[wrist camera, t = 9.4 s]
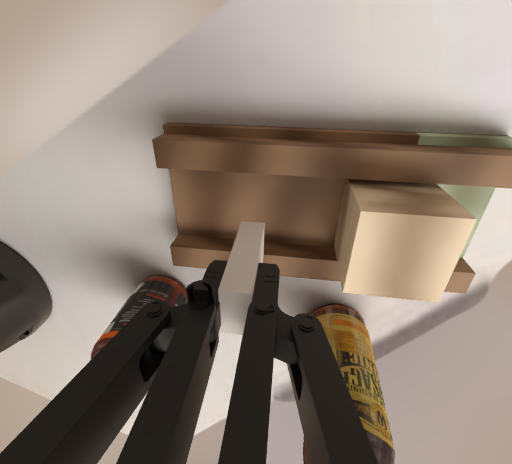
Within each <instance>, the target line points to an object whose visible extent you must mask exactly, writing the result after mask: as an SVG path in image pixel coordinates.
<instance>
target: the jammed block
mask: <svg viewBox="0 0 512 464" xmlns="http://www.w3.org/2000/svg"><path fill="white" fill-rule="evenodd" d="M476 221H477V219H476V218H475V217H474V216H473V215H472V214H470V213H469V212H468V211H467V210H466V209H465V208H464V207H463V206H461V205H460V204H459V203H458V202H457V201H456V200H455V199H453V198H452V197H451V196H450V195H449V194H448V193H447V192H445V191H444V190H443V189H442V188H441V187H440V186H439V185H437V184H428V183H411V182H393V181H376V180H359V179H346V180H345V185H344V191H343V196H342V202H341V208H340V213H339V219H338V224H337V230H336V235H335V241H334V247H335V253H336V258H337V263H338V269H339V274H340V280H341V285H342V291H343V293H351V294H361V295H371V296H381V297H391V298H401V299H411V300H421V301H431V302H439V301H440V299H441V297H442V295H443V292H444V290H445V288H446V286H447V284H448V282H449V279H450V277H451V275H452V273H453V271H454V268H455V266H456V264H457V262H458V260H459V258H460V255H461V253H462V251H463V249H464V247H465V245H466V242H467V240H468V238H469V236H470V234H471V232H472V229H473V227H474V225H475V223H476Z"/></svg>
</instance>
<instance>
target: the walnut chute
mask: <svg viewBox="0 0 512 464" xmlns="http://www.w3.org/2000/svg"><path fill="white" fill-rule="evenodd" d="M163 129H164V134H162V135H160V136H158V137H156V138H154V139H152V141H153V147H154V153H155V159H156V165H157V168H168V169H169V170H170V177H171V184H172V191H173V198H174V205H175V212H176V219H177V225H178V232H179V235H178V236H177V238H176V239H175V240H174V242H173V243H172V244H171V246H170V249H171V255H172V261H173V265H175V266H185V267H195V268H206V269H207V268H208V265H209V264H210V263H211V262H213V261H214V260H224V261H228V259H229V256H230V253H231V251H232V248H233V245H234V242H235V239H236V236H237V233H238V230H239V227H240V224H241V221H246V222H261V223H265V226H264V257H263V263H269V264H277V266H278V268H279V270H280V274H279V276H289V277H299V278H309V279H320V280H330V281H341V280H340V274H339V269H338V263H337V258H336V253H335V247H334V241H335V235H336V230H337V224H338V219H339V213H340V208H341V202H342V196H343V191H344V185H345V180H346V179H359V180H376V181H393V182H411V183H428V184H437V185H439V186H440V187H441V188H442V189H443V190H444V191H445V192H447V193H448V194H449V195H450V196H451V197H452V198H453V199H455V200H456V201H457V202H458V203H459V204H460V205H461V206H463V207H464V208H465V209H466V210H467V211H468V212H469V213H470V214H472V215H473V216H474V217H475V218H476V219H477V221H476V223H475V225H474V227H473V229H472V232H471V234H470V236H469V238H468V240H467V242H466V245H465V247H464V249H463V251H462V253H461V255H460V258H459V260H458V262H457V264H456V266H455V268H454V271H453V273H452V275H451V277H450V279H449V282H448V284H447V286H446V288H445V290H444V292H455V293H466V291H467V289H468V287H469V285H470V283H471V281H472V279H473V278H474V276H475V274H476V273H475V272H474V271H473V270H472V269H471V267H470V266H469V265H468V264H467V263H466V261H465V260H464V259H463V256H464V254H465V252H466V250H467V248H468V246H469V244H470V241H471V239H472V237H473V235H474V233H475V231H476V229H477V226H478V224H479V222H480V220H481V218H482V216H483V214H484V211H485V209H486V207H487V205H488V203H489V201H490V199H491V196H492V194H493V192H494V190H495V188H496V187H497V188H512V137H510V136H493V135H468V134H443V133H417V132H392V131H366V130H341V129H316V128H290V127H265V126H239V125H214V124H189V123H167V124H164V125H163Z"/></svg>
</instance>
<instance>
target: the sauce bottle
mask: <svg viewBox="0 0 512 464" xmlns="http://www.w3.org/2000/svg"><path fill="white" fill-rule="evenodd" d="M311 315H313V316H315V317H316V318H317V319H319V321H320V322H321V324H322V326H323V329H324V331H325V334H326V336H327V338H328V341H329V343H330V346H331V348H332V351H333V353H334V356H335V358H336V361H337V363H338V365H339V368H340V370H341V373H342V375H343V378H344V380H345V383H346V385H347V388H348V390H349V392H350V395H351V397H352V400H353V402H354V405H355V407H356V410H357V412H358V415H359V417H360V419H361V422H362V424H363V427H364V429H365V432H366V434H367V437H368V439H369V442H370V444H371V446H372V449H373V451H374V454H375V456H376V459H377V461H378V464H394V458H395V450H394V446H393V440H392V436H391V432H390V427H389V423H388V418H387V413H386V409H385V404H384V399H383V395H382V391H381V387H380V382H379V377H378V372H377V368H376V364H375V359H374V355H373V350H372V346H371V341H370V337H369V333H368V330H367V328H366V326H365V324H364V321H363V318H362V317H361V316H360V315H359V314H358V312H356V311H354V310H353V309H350V308H348V307H344V306H342V305H337V304H334V305H332V304H331V305H329V306H324V307H321V308H318V309H317V310H315V311H314V312H313V313H312V314H311ZM303 445H304V446H303V460H304V464H311V462H310V458H309V454H308V450H307V445H306V441H305V437H304V443H303Z"/></svg>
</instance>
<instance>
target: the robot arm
mask: <svg viewBox="0 0 512 464" xmlns="http://www.w3.org/2000/svg"><path fill="white" fill-rule="evenodd" d="M264 226H265V223H261V222H246V221H241V224H240V227H239V230H238V233H237V236H236V239H235V242H234V245H233V248H232V251H231V253H230V256H229V259H228V261H224V260H214V261H213V262H211V263H210V264H209V265H208V268H207V270H206V272H205V275H204V277H203V279H202V280H199V281H195V282H193V283H191V284H189V285H188V287H187V288H186V292H187V299H188V303H186V304H184V305H180V306H174V307H170V306H169V305H168V303H166V302H165V301H160V300H157V301H152V302H150V303H147V304H146V305H145V306H143V307H142V308H141V309H140V310H139V311H138V312H137V313H136V314H135V315H134V316H133V317H132V319H131V320H130V321H129V322H128V323H127V324H126V325H125V326H124V327H123V328H122V329H121V330H120V331H119V332H118V333H117V334H116V335H115V336H114V337H113V338H112V339H111V340H110V341H109V342H108V343H107V344H106V345H105V346H104V347H103V348H102V349H101V350H100V351H99V352H98V354H97V355H96V356H95V357H94V358H93V359H92V360H91V361H90V362H89V363H88V364H87V365H86V366H85V367H84V368H83V369H82V370H81V371H80V372H79V373H78V374H77V375H76V376H75V377H74V378H73V379H72V380H71V381H70V382H69V383H68V384H67V385H66V386H65V387H64V388H63V390H62V391H61V392H60V393H59V394H58V395H57V396H56V397H55V398H54V399H53V400H52V401H51V402H50V403H49V404H48V405H47V406H46V407H45V408H44V409H43V410H42V411H41V412H40V413H39V414H38V415H37V416H36V417H35V418H34V419H33V421H32V422H30V424H29V425H28V426H27V427H26V428H25V429H24V430H23V431H22V432H21V433H20V434H19V435H18V436H17V437H16V438H15V439H14V440H13V441H12V442H11V443H10V444H9V445H8V446H7V447H6V448H5V449H4V450H3V451H2V452H1V453H0V464H97V463H98V461H99V460H100V459H101V457H102V456H103V454H104V453H105V452H106V450H107V449H108V447H109V446H110V444H111V443H112V442H113V440H114V439H115V437H116V436H117V435H118V433H119V432H120V430H121V429H122V427H123V426H124V425H125V423H126V422H127V420H128V419H129V418H130V416H131V415H132V413H133V412H134V410H135V409H136V408H137V406H138V405H139V403H140V402H141V400H142V399H143V398H144V396H145V395H146V393H147V392H148V393H147V395H146V398H145V400H144V402H143V404H142V407H141V409H140V411H139V413H138V416H137V418H136V420H135V422H134V425H133V427H132V429H131V431H130V434H129V436H128V438H127V441H126V443H125V445H124V447H123V449H122V452H121V454H120V456H119V458H118V461H117V463H116V464H186V462H187V458H188V454H189V450H190V447H191V443H192V439H193V435H194V432H195V428H196V424H197V421H198V417H199V413H200V409H201V406H202V402H203V398H204V395H205V391H206V387H207V383H208V380H209V376H210V372H211V368H212V365H213V361H214V357H215V354H216V350H217V346H218V342H219V336H218V333H219V330H220V326H221V333H229V334H239V335H243V337H242V342H241V348H240V353H239V358H238V363H237V368H236V373H235V379H234V384H233V389H232V394H231V399H230V405H229V410H228V415H227V420H226V425H225V431H224V436H223V441H222V446H221V451H220V457H219V462H218V464H266V455H267V441H268V427H269V414H270V400H271V386H272V373H273V359H274V358H276V359H278V360H281V361H283V362H285V363H287V366H288V370H289V374H290V378H291V383H292V387H293V391H294V395H295V399H296V403H297V408H298V411H299V416H300V420H301V424H302V429H303V433H304V437H305V441H306V445H307V450H308V454H309V458H310V462H311V464H378V461H377V459H376V456H375V454H374V451H373V449H372V446H371V444H370V442H369V439H368V437H367V434H366V432H365V429H364V427H363V424H362V422H361V419H360V417H359V415H358V412H357V410H356V407H355V405H354V402H353V400H352V397H351V395H350V392H349V390H348V388H347V385H346V383H345V380H344V378H343V375H342V373H341V370H340V368H339V365H338V363H337V361H336V358H335V356H334V353H333V351H332V348H331V346H330V343H329V341H328V338H327V336H326V334H325V331H324V329H323V326H322V324H321V322H320V321H319V319H317V318H316V317H315V316H313V315H310V314H299V315H296V316H295V317H292V316H289V315H287V314H285V313H284V312H282V311H281V310H280V308H279V306H278V288H279V274H280V270H279V268H278V266H277V264H269V263H263V257H264ZM51 310H52V301H51V297H50V294H49V291H48V289H47V287H46V285H45V283H44V282H43V280H42V279H41V277H40V276H39V275H38V274H37V272H36V271H35V270H34V269H33V268H32V267H31V266H30V265H29V264H28V263H27V262H26V261H25V260H24V259H23V258H21V257H20V256H19V255H18V254H16V253H15V252H14V251H12V250H11V249H10V248H8V247H6V246H5V245H3V244H1V243H0V352H2V351H4V350H5V349H7V348H9V347H11V346H12V345H14V344H15V343H17V342H18V341H20V340H23V339H25V338H26V337H28V336H30V335H31V334H32V333H34V332H35V331H36V330H37V329H38V328H39V327H40V326H41V325H42V324H43V323H44V322H45V321H46V320H47V319H48V317H49V316H50V314H51Z"/></svg>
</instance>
